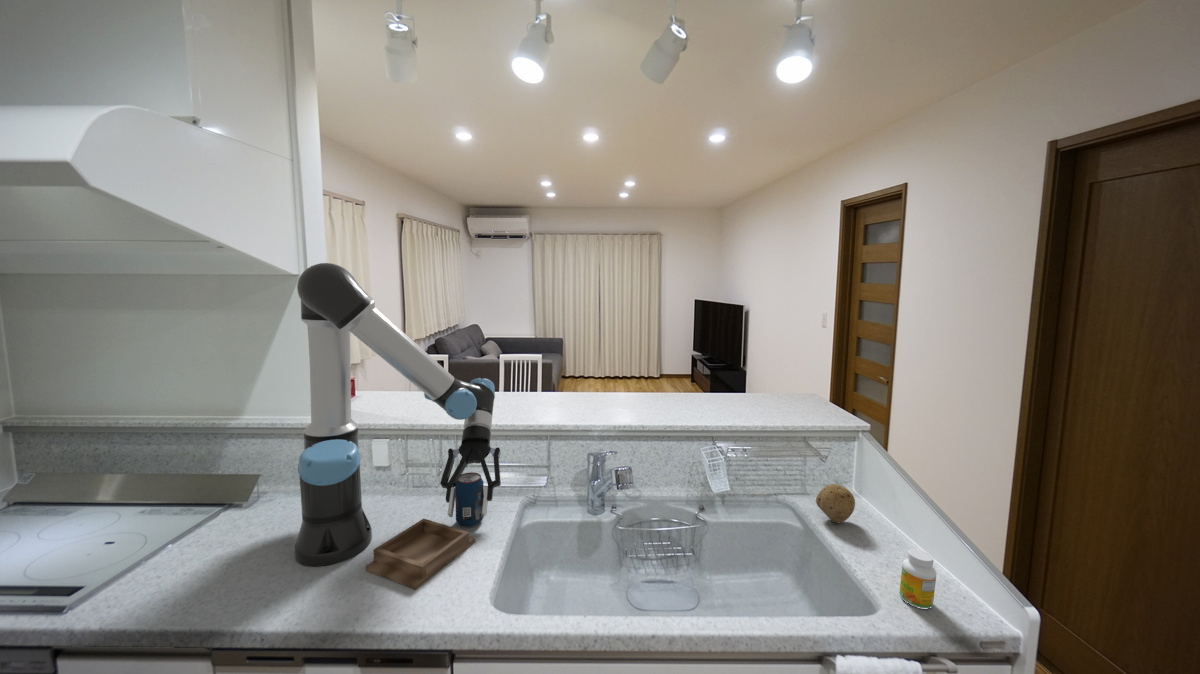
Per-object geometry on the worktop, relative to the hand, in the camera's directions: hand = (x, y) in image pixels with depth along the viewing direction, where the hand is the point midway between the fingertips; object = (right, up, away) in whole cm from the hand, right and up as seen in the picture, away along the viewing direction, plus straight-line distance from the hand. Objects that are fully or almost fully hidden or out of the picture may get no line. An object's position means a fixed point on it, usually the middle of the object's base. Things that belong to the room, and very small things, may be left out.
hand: (467, 514), depth 108 cm
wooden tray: (-7, -5, -10) cm, 13 cm away
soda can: (0, -4, +4) cm, 5 cm away
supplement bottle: (+95, -8, -22) cm, 98 cm away
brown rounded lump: (+95, -5, +7) cm, 95 cm away
